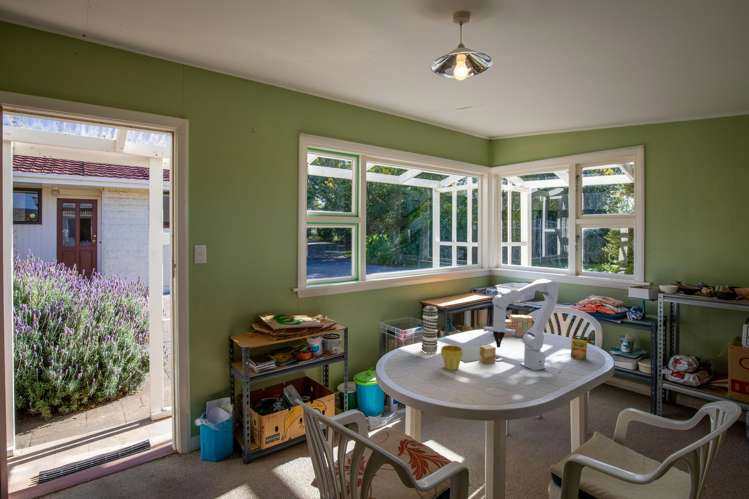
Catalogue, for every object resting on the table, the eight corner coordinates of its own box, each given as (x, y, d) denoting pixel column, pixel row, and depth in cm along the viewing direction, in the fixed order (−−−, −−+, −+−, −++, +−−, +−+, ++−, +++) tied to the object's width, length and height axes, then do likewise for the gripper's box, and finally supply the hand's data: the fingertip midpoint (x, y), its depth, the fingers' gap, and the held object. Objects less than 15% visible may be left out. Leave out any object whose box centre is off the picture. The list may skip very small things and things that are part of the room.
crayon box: (570, 357, 222) (571, 336, 221) (570, 356, 225) (572, 334, 223) (586, 360, 218) (587, 338, 217) (586, 358, 221) (587, 336, 220)
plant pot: (446, 372, 200) (446, 352, 199) (437, 364, 210) (437, 345, 209) (466, 370, 202) (466, 350, 202) (456, 363, 212) (456, 344, 212)
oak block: (495, 362, 213) (495, 347, 213) (485, 364, 211) (486, 349, 210) (488, 359, 218) (489, 344, 217) (479, 361, 215) (479, 346, 215)
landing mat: (499, 356, 222) (499, 356, 222) (465, 362, 213) (465, 361, 213) (478, 346, 238) (478, 346, 238) (445, 351, 229) (445, 351, 229)
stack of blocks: (496, 336, 260) (497, 316, 259) (494, 333, 267) (495, 314, 266) (532, 337, 259) (532, 317, 258) (529, 334, 265) (529, 315, 264)
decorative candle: (429, 355, 223) (430, 309, 221) (417, 351, 230) (418, 306, 228) (441, 352, 229) (442, 307, 227) (428, 347, 236) (429, 304, 234)
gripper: (515, 319, 206) (514, 346, 207) (485, 316, 211) (484, 342, 213) (514, 322, 200) (513, 350, 201) (483, 319, 205) (482, 346, 206)
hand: (498, 346), depth 206 cm, fingers closed
